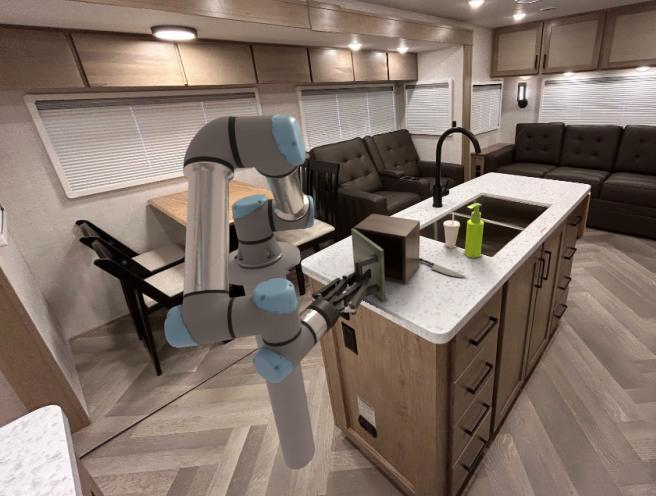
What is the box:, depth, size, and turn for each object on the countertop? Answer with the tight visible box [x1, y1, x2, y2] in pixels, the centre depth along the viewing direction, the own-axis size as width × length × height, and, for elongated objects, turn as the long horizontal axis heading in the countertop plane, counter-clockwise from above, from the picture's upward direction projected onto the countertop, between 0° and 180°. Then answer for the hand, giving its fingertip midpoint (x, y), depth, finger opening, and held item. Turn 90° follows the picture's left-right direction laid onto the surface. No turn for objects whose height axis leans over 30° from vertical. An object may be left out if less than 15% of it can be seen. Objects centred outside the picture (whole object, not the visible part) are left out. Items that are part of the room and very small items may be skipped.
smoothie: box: [443, 212, 461, 249], centre depth 125 cm, size 6×6×14 cm
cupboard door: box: [350, 227, 386, 301], centre depth 97 cm, size 8×18×17 cm, turn 35°
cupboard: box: [353, 213, 421, 285], centre depth 108 cm, size 13×18×17 cm
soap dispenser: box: [464, 202, 485, 259], centre depth 117 cm, size 6×7×20 cm
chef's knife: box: [419, 257, 467, 278], centre depth 110 cm, size 19×1×3 cm
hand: (365, 271), depth 94 cm, fingers open, 2 cm apart
